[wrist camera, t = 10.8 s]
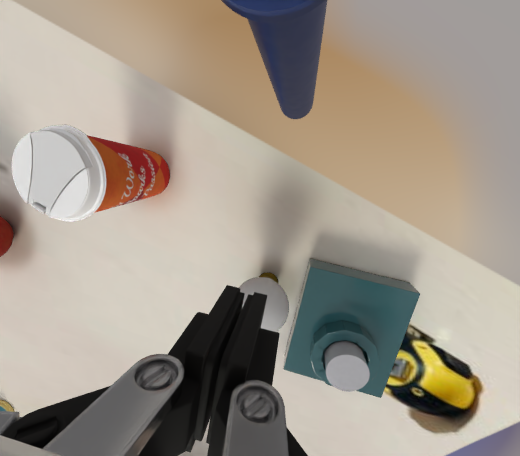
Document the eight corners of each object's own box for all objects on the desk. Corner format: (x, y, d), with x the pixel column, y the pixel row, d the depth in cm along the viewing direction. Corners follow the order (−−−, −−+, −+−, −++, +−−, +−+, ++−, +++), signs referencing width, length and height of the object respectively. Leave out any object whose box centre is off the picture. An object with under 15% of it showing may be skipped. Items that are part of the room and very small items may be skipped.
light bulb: (301, 276, 34) (300, 318, 24) (274, 309, 35) (263, 361, 26) (262, 248, 34) (246, 279, 24) (237, 283, 35) (213, 325, 26)
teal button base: (309, 258, 33) (310, 273, 28) (409, 282, 32) (428, 302, 27) (285, 353, 36) (282, 381, 32) (374, 379, 35) (386, 412, 30)
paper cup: (162, 214, 35) (73, 242, 22) (113, 183, 35) (-6, 192, 22) (188, 161, 33) (109, 155, 20) (136, 129, 33) (21, 100, 20)
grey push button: (329, 336, 30) (331, 349, 28) (369, 346, 29) (375, 361, 27) (319, 368, 31) (321, 384, 29) (358, 379, 30) (362, 396, 28)
